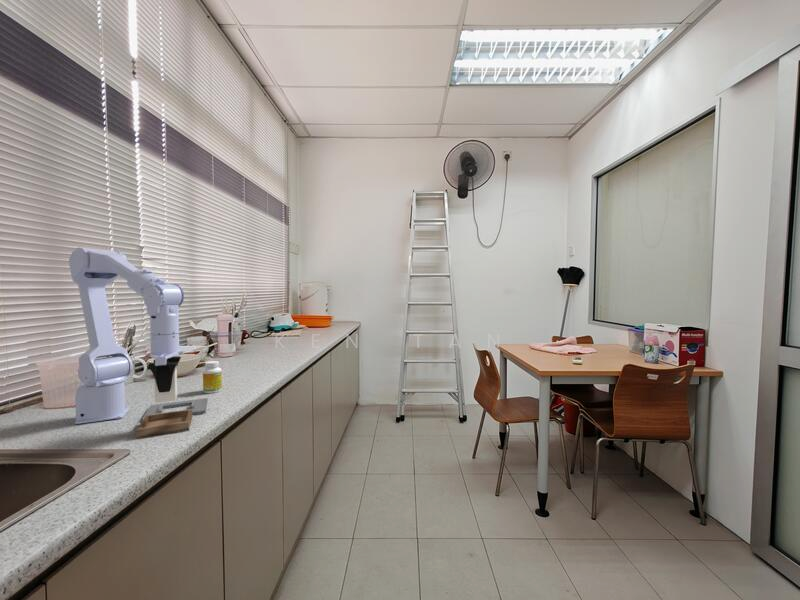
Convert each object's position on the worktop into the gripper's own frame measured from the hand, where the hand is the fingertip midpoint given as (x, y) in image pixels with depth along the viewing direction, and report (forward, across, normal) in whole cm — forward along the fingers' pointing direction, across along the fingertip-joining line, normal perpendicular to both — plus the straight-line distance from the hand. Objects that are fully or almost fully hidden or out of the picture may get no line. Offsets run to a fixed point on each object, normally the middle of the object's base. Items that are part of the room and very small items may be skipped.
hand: (166, 389), depth 83 cm
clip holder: (+9, +12, -1) cm, 15 cm away
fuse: (+2, 0, 0) cm, 2 cm away
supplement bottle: (+9, +28, -9) cm, 31 cm away
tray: (+9, 0, 0) cm, 9 cm away
